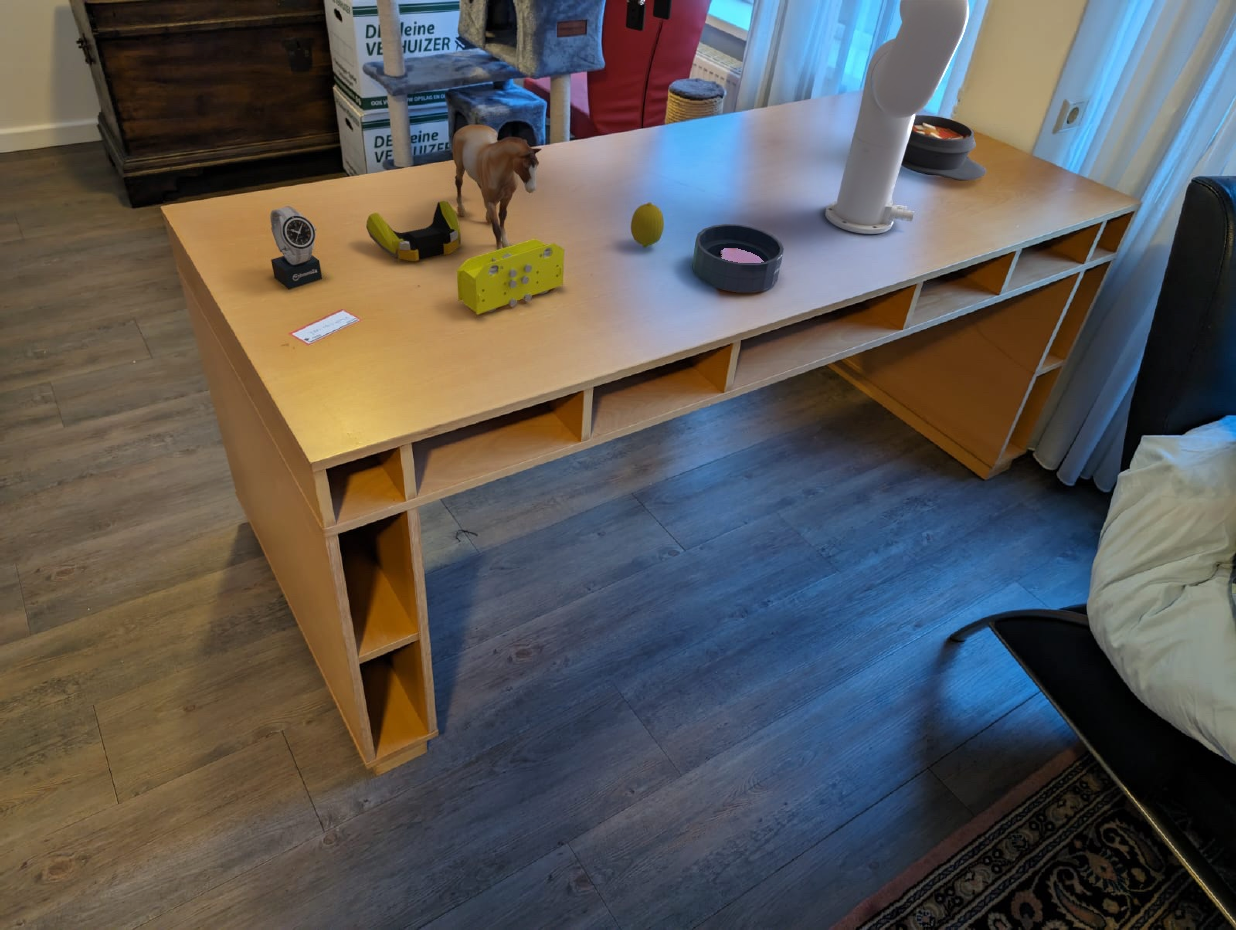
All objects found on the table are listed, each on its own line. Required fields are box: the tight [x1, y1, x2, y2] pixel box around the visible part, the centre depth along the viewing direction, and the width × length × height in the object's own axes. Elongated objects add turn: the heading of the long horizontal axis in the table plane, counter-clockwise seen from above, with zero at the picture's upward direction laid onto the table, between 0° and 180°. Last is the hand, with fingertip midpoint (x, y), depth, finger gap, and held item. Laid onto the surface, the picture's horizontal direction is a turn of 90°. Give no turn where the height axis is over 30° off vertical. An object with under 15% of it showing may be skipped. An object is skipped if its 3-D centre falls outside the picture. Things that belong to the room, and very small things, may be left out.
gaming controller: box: [365, 200, 462, 262], centre depth 142 cm, size 15×6×10 cm
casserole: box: [901, 114, 987, 182], centre depth 187 cm, size 25×19×8 cm
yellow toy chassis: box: [456, 238, 565, 315], centre depth 131 cm, size 16×6×8 cm, turn 131°
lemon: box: [630, 202, 665, 248], centre depth 148 cm, size 6×6×8 cm
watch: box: [269, 205, 323, 290], centre depth 130 cm, size 6×8×11 cm
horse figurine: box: [452, 124, 542, 250], centre depth 142 cm, size 31×8×21 cm, turn 23°
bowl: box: [691, 223, 785, 294], centre depth 144 cm, size 14×14×6 cm
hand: (648, 23), depth 149 cm, fingers open, 9 cm apart
